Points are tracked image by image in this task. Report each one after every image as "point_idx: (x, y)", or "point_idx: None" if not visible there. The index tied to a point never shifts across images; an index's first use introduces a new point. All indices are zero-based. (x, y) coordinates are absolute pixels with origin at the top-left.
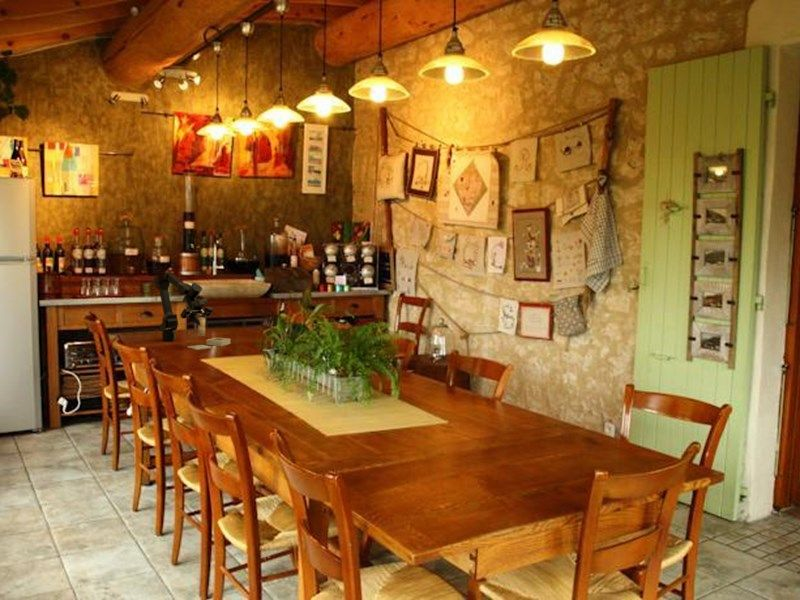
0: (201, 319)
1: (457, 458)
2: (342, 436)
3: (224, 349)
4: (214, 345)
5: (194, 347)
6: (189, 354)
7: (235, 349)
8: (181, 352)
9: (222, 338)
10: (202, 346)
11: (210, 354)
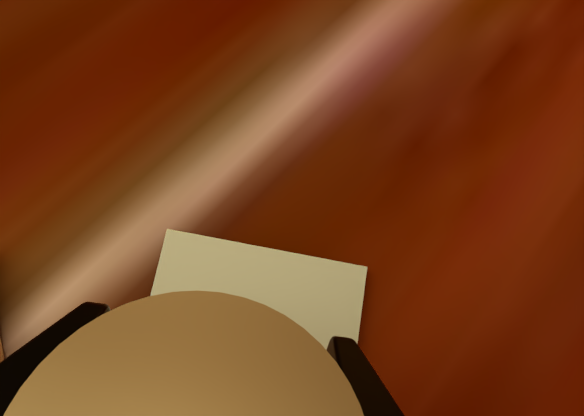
0: (310, 341)
1: None
2: None
3: (131, 96)
4: (2, 351)
5: None
6: (554, 139)
7: (55, 18)
8: (553, 272)
9: None
10: None
11: (420, 12)
